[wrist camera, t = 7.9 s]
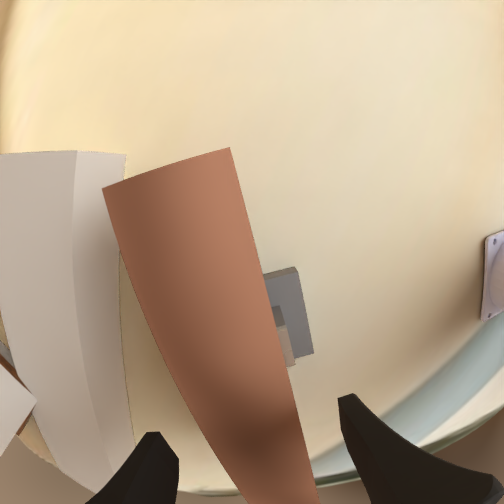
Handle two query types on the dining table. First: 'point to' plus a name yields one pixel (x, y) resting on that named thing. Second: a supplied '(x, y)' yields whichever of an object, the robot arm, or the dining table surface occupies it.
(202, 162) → the mahogany rod
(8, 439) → the white tower model
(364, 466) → the robot arm
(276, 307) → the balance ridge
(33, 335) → the decorative molding
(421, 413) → the dining table surface
